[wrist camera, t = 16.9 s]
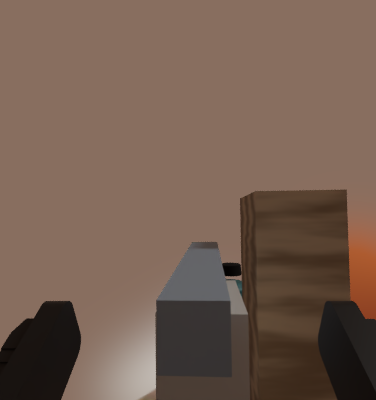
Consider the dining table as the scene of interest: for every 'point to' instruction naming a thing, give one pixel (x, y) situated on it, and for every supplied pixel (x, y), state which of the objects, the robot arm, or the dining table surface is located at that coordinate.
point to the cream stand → (216, 386)
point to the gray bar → (195, 317)
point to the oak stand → (291, 287)
